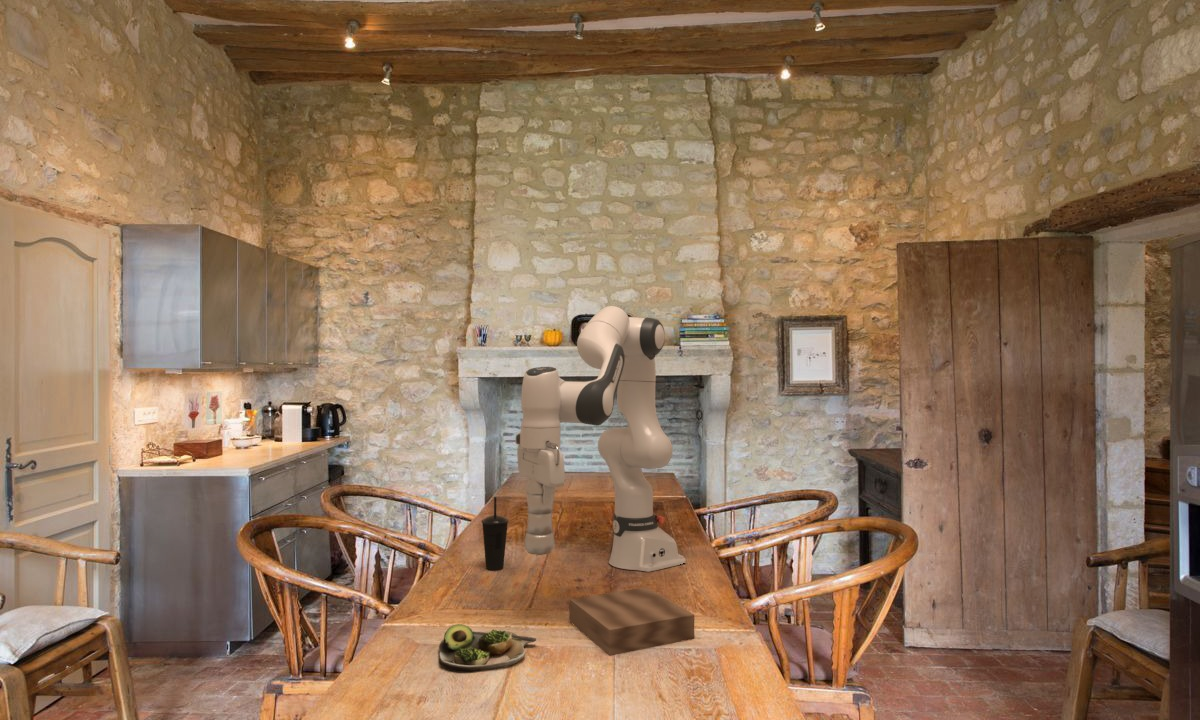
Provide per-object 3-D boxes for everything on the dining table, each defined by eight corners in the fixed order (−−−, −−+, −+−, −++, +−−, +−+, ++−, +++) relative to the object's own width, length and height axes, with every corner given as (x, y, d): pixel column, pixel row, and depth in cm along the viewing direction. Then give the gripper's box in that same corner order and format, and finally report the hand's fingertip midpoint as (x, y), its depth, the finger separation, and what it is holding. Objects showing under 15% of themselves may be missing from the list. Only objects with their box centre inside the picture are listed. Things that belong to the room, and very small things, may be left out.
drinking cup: (513, 566, 197) (513, 495, 197) (500, 573, 190) (501, 500, 190) (489, 563, 200) (489, 494, 200) (475, 570, 192) (476, 498, 193)
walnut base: (646, 608, 164) (647, 587, 164) (694, 638, 146) (694, 614, 146) (569, 621, 155) (569, 599, 155) (609, 655, 137) (609, 630, 137)
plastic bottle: (526, 550, 158) (526, 462, 158) (556, 550, 158) (556, 462, 158) (522, 558, 152) (523, 466, 152) (553, 558, 152) (554, 467, 152)
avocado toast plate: (531, 632, 149) (531, 611, 149) (543, 668, 132) (543, 644, 132) (439, 640, 145) (439, 618, 145) (438, 678, 127) (438, 652, 127)
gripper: (572, 443, 147) (571, 508, 147) (538, 434, 166) (537, 492, 166) (544, 445, 144) (544, 511, 144) (512, 435, 163) (512, 494, 163)
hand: (540, 501), depth 155 cm, fingers closed on plastic bottle, 6 cm apart
